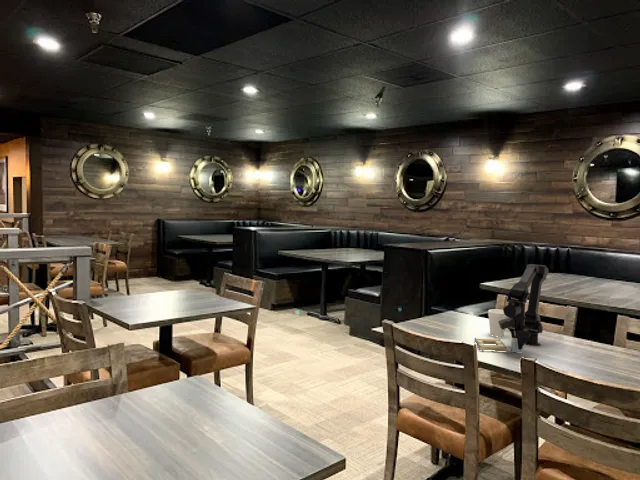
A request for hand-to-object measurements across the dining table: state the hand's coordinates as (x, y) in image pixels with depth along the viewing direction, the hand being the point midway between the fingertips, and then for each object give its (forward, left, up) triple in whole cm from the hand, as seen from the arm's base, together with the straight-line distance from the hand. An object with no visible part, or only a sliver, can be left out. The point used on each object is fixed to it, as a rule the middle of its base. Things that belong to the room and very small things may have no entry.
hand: (516, 346), depth 227 cm
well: (-5, -11, -2) cm, 12 cm away
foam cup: (-26, -3, -3) cm, 26 cm away
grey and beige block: (0, 0, -3) cm, 3 cm away
